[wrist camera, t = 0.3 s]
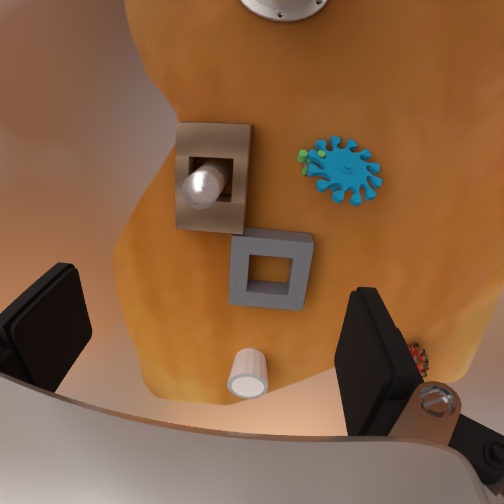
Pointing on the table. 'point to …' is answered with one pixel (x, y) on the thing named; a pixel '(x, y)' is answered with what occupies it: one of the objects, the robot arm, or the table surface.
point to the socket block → (276, 246)
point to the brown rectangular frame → (219, 146)
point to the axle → (205, 184)
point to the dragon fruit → (420, 359)
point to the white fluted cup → (248, 374)
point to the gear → (341, 170)
